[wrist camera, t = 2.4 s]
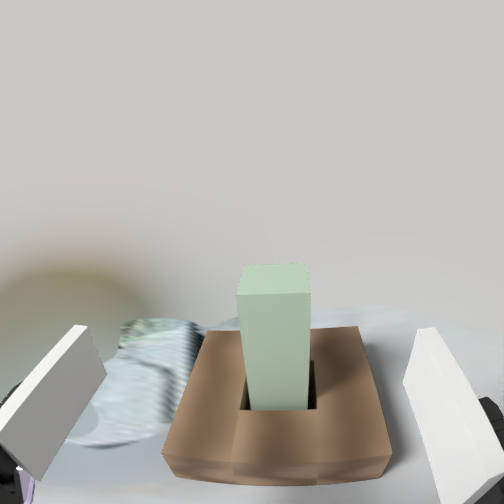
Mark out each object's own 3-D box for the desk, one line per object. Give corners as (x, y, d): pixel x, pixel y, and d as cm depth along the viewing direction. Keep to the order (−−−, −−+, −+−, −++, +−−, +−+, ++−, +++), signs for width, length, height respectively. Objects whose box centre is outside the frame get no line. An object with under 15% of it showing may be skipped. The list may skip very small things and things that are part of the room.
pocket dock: (353, 354, 32) (357, 326, 30) (379, 477, 17) (392, 453, 15) (213, 358, 34) (207, 330, 32) (175, 476, 19) (161, 453, 17)
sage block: (305, 395, 27) (306, 262, 22) (305, 430, 23) (310, 292, 18) (258, 395, 28) (244, 265, 23) (254, 431, 24) (235, 294, 19)
